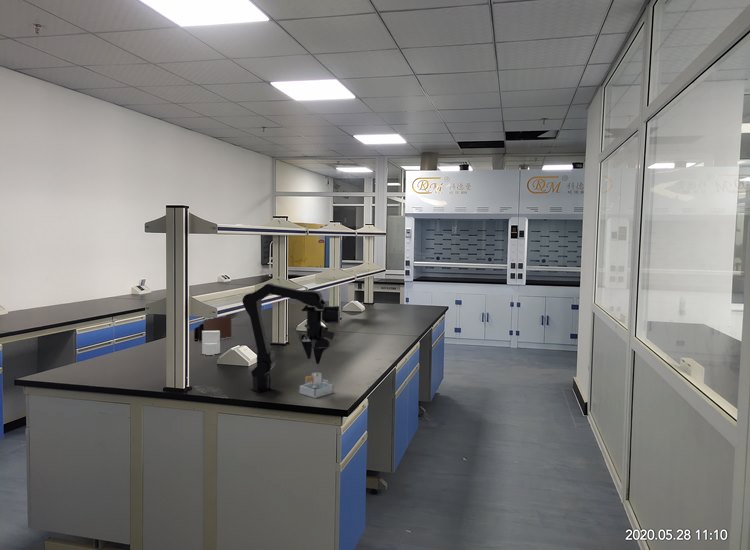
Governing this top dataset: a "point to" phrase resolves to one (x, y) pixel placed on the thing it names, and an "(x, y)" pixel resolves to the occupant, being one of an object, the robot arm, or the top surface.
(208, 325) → the letter holder
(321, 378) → the mount
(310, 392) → the bin
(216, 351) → the cylinder with rectangular tab
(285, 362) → the top surface
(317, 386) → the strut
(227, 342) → the top surface
